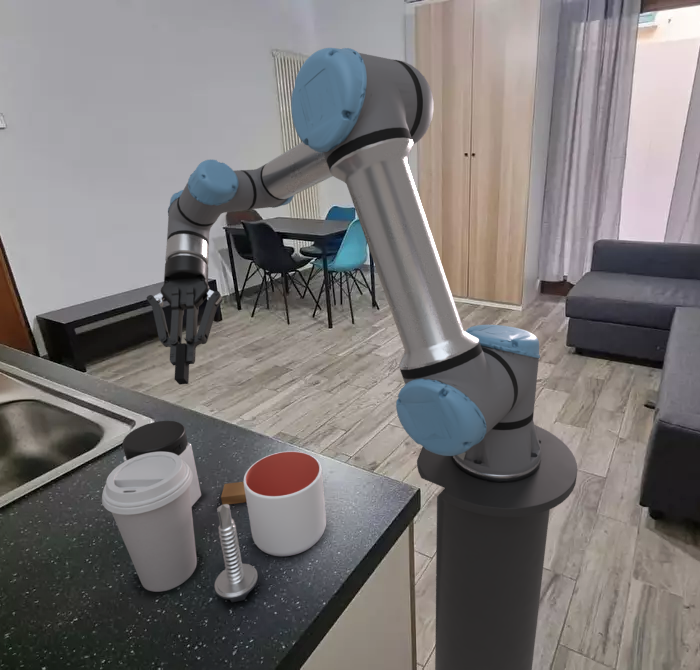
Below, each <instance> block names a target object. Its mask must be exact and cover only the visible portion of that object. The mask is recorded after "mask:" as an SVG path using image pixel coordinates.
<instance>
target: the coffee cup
mask: <svg viewBox="0 0 700 670" xmlns="http://www.w3.org/2000/svg"><path fill="white" fill-rule="evenodd" d="M192 478H193V474H192V471H191V469H190V467H189V466H188V465H187V464H186V463H185V462H184V461H183V460H182V459H181V458H180V457H179V456H178V455H176V454H174V453H171V452H151V453H146V454H142V455H139V456H136V457H134V458H131V459H129V460H127V461H125V462H124V461H123V462H121V463H120V464H118V465H117V466H116V467H115V468H114V469H113V470H112V471H110V473H109V474H108V475H107V478H106V480H105V485H104V487H103V489H102V495H101V503H102V506H103V507H104V509H106V510H107V511H108V512H110V513H111V515H112V517H113V519H114V522H115V524H116V527H117V529H118V531H119V534H120V537H121V538H122V541H123V543H124V546H125V548H126V550H127V552H128V554H129V557H130V560H131V562H132V565H133V567H134V569H135V571H136V574H137V576H138V579H139V581H140V584H141V586H142V587H143V588H144V589H145V590H147V591H149V592H153V593H154V592H155V593H159V592H167V591H170V590H172V589H175V588H177V587H179V586H180V585H182V584H183V583H185V582H186V581H187V580H188V579H189V578H190V577H191V576H193V573H194V572H195V571H196V568H197V565H198V559H197V549H196V539H195V528H194V519H193V509H192V508H193V506H192V507H191V496H190V484H191V482H192Z"/></svg>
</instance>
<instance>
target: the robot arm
mask: <svg viewBox="0 0 700 670" xmlns="http://www.w3.org/2000/svg"><path fill="white" fill-rule="evenodd" d="M434 105H435V104H434V96H433V91H432V89H431V86H430V85H429V82H428V80H427V79H426V77H425V75H423V74H422V72H421V71H420V70H419V69H418V68H416V67H414V65H412V64H410V63H408V62H405V61H403V60H400V59H399V60H398V59H391V58H387V57H381V56H377V55H372V54H367V53H362V52H359V51H357V50H355V49H353V48H349V47H343V48H337V47H324V48H321V49H319V50H316V51H315V52H313V53H312V54H311V55H310V56H309V57H307V58H306V60H305V61H304V63H303V64H302V65H301V67H300V68H299V71H298V73H297V74H296V77H295V80H294V87H293V89H292V92H291V104H290V109H291V111H290V112H291V118H292V123H293V127H294V129H295V133H296V134H297V136H298V138H299V139H300V141H301V142H299V143H298V144H296V145H295V146H293V147H291V148H290V149H288V150H286V151H285V152H283V153H281V154H280V155H278V156H276V157H275V158H273V159H271V160H270V161H268V162H267V163H265V164H263V165H262V166H260V167H257V168H255V169H239V170H233V168H232V167H230V166H229V165H228V164H227V163H225V162H220V161H218V160H217V159H206V160H202V161H201V162H199V164H198V165H197V167H196V168H195V169H194V170H193V172H192V173H191V174H190V175H189V178H188V180H187V183H186V184H185V187H184V188H183V189H180V190H179V191H178V192H174V193H173V194H172V196H171V197H170V201H169V206H168V208H167V215H168V216H167V217H168V219H167V234H166V246H165V247H166V248H165V264H164V275H163V286H161V288H160V292H158V293H156V294H155V295H152V294H149V295H147V296H146V301H147V302H148V303H149V305H150V306H151V309H152V314H153V318H154V322H155V327H156V332H157V336H158V340H159V342H160V343H161V344H162V345H163V346H164V347H165V348H170V349H169V362H170V363H171V365H172V366H174V381H175V382H176V383H177V384H178V385H189V380H190V379H189V378H190V365H194V364H195V362H196V350H197V347H198V346H200V345H206V344H207V342H208V341H209V336H210V333H211V330H212V326H213V323H214V320H215V317H216V313H217V309H218V308H219V307H220V305H221V304H222V302H223V301H224V300H223V297H222V295H221V292H220V291H218V290H215V291H214V290H212V289H211V288H210V285H209V257H210V255H209V254H210V232H211V229H212V227H213V225H214V224H215V223H216V222H217V221H218V219H219V218H220V216H221V215H222V214H224V213H225V214H226V213H233V212H241V211H242V212H243V211H249V210H257V209H258V210H259V209H269V208H274V209H275V208H278V207H281V206H286V205H288V204H290V203H291V202H292V200H293V198H294V197H295V195H298V194H300V193H302V192H303V191H306V190H308V189H310V188H311V187H314V186H316V185H318V184H320V183H322V182H325V181H326V180H328V179H330V178H332V177H334V178H336V179H338V180H339V181H340V182H341V181H342V182H343V183H345V185H346V187H347V189H348V193H349V195H350V198H351V201H352V204H353V207H354V210H355V212H356V215H357V219H358V220H359V224H360V227H361V230H362V232H363V235H364V238H365V241H366V244H367V246H368V247H367V248H368V250H369V252H370V255H371V258H372V261H373V263H374V267H375V269H376V273H377V275H378V278H379V281H380V283H381V286H382V287H381V288H382V289H383V292H384V296H385V297H386V301H387V303H388V306H389V309H390V312H391V315H392V318H393V321H394V324H395V326H396V327H395V328H396V329H397V332H398V335H399V337H400V340H401V344H402V346H403V349H404V352H403V355H402V357H401V359H400V361H399V364H398V368H399V371H400V374H401V376H402V379H403V382H404V385H403V387H401V388H400V390H399V393H398V395H397V399H396V401H395V409H396V414H397V417H398V419H399V423H400V424H401V426H402V429H404V431H405V432H406V434H407V435H408V436H409V437H410V438H411V440H412V441H414V442H415V443H416V444H417V445H420V446H422V447H424V448H425V449H426V450H428V451H430V452H432V453H435V454H439V455H443V456H451V458H452V461H453V462H454V464H455V465H456V466H457V467H458V468H459V469H460V470H461V471H463V472H464V473H466V474H468V475H470V476H472V477H474V478H477V479H480V480H483V481H488V482H496V483H509V482H516V481H520V480H523V479H526V478H528V477H530V476H532V475H533V474H534V473H535V472H536V471H537V470H538V469H539V467H540V463H541V447H540V443H541V440H539V439H538V436H537V432H536V429H535V425H536V424H535V422H534V415H535V413H534V412H535V403H536V392H537V383H538V372H539V363H540V362H539V360H540V359H541V355H540V341H539V338H538V337H537V336H536V335H535V334H534V333H532V332H531V331H529V330H526V329H522V328H519V327H514V326H508V325H501V324H477V325H473V326H469V327H468V328H467V329H466V330H464V329H465V328H464V326H463V323H462V320H461V318H460V314H459V312H458V308H457V305H456V302H455V299H454V297H453V294H452V291H451V287H450V285H449V281H448V279H447V276H446V272H445V270H444V266H443V264H442V261H441V258H440V255H439V252H438V249H437V246H436V243H435V240H434V237H433V233H432V231H431V227H430V226H429V222H428V219H427V216H426V213H425V210H424V208H423V204H422V202H421V199H420V195H419V192H418V190H417V187H416V184H415V183H416V182H415V181H414V178H413V174H412V172H411V169H410V166H409V163H408V159H409V157H410V155H411V152H412V150H413V148H414V145H415V144H416V143H418V142H419V141H420V140H421V139H422V138H424V136H425V135H426V133H427V132H428V130H429V128H430V126H431V123H432V120H433V118H434V117H433V116H434ZM205 300H207V301H206V304H205V307H204V311H203V314H202V317H201V320H200V323H199V326H198V318H199V317H198V315H199V310H200V309H199V307H200V306H202V304H203V303H204V301H205ZM164 301H166V302H167V303H168V304H169V305H170V308H171V315H170V318H171V319H170V333H169V330H168V324H167V321H166V315H165V312H164V309H163V307H164V304H165V302H164ZM185 311H186V319H185V320H186V321H185V323H186V324H185V337H184V338H183V321H184V320H183V319H184V315H185ZM182 338H183V339H184V341H185V342H183V343H182V341H183V340H182Z"/></svg>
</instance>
